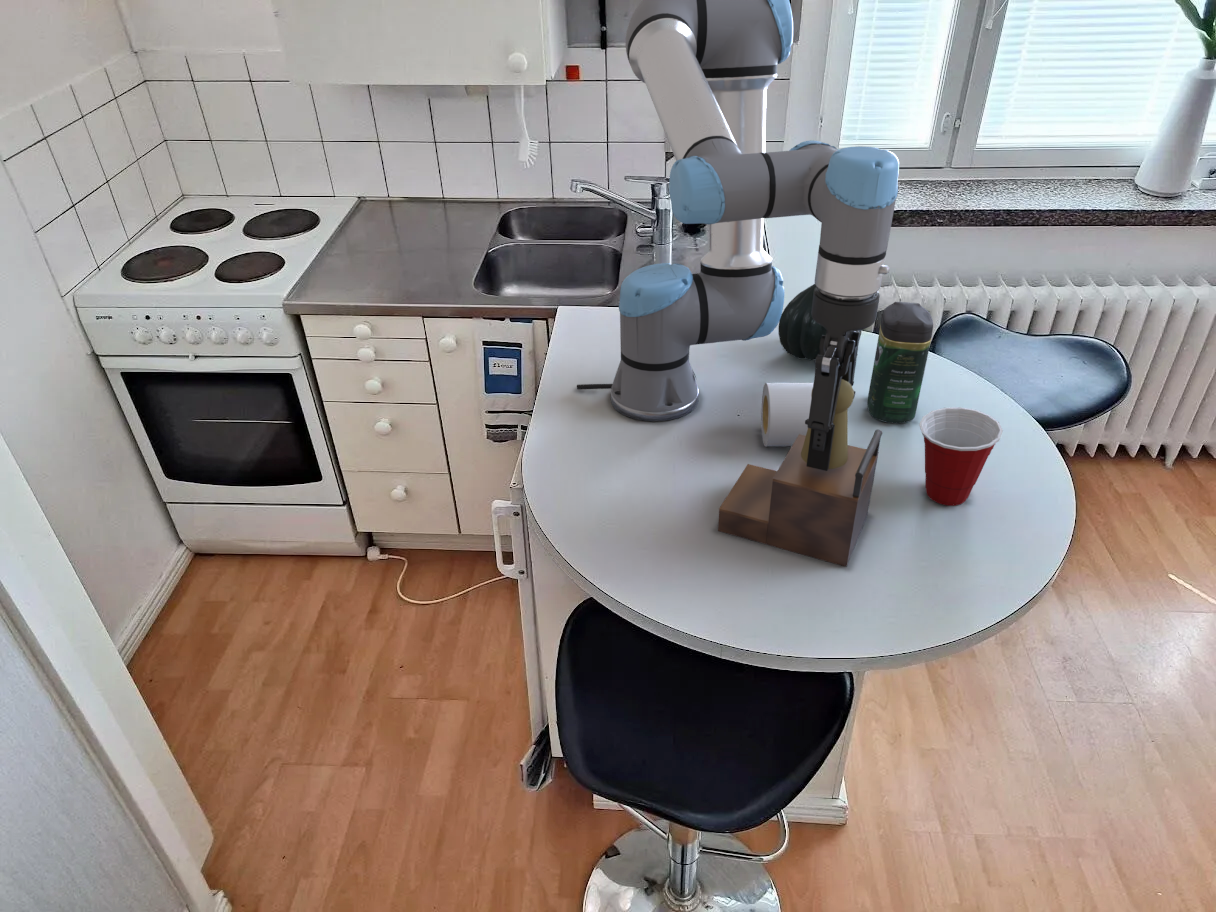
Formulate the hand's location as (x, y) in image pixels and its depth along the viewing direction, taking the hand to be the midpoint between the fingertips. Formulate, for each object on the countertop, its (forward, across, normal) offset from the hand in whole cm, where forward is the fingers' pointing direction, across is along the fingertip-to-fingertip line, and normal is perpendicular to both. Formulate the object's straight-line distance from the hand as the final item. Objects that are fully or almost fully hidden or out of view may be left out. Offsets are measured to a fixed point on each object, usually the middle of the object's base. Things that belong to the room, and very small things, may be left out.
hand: (824, 453), depth 114 cm
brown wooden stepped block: (+13, 0, +3) cm, 13 cm away
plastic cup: (+13, +16, -15) cm, 25 cm away
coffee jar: (+13, +37, -3) cm, 39 cm away
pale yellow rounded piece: (+1, 0, 0) cm, 1 cm away
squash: (+13, +52, +14) cm, 55 cm away
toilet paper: (+13, +21, +9) cm, 26 cm away
